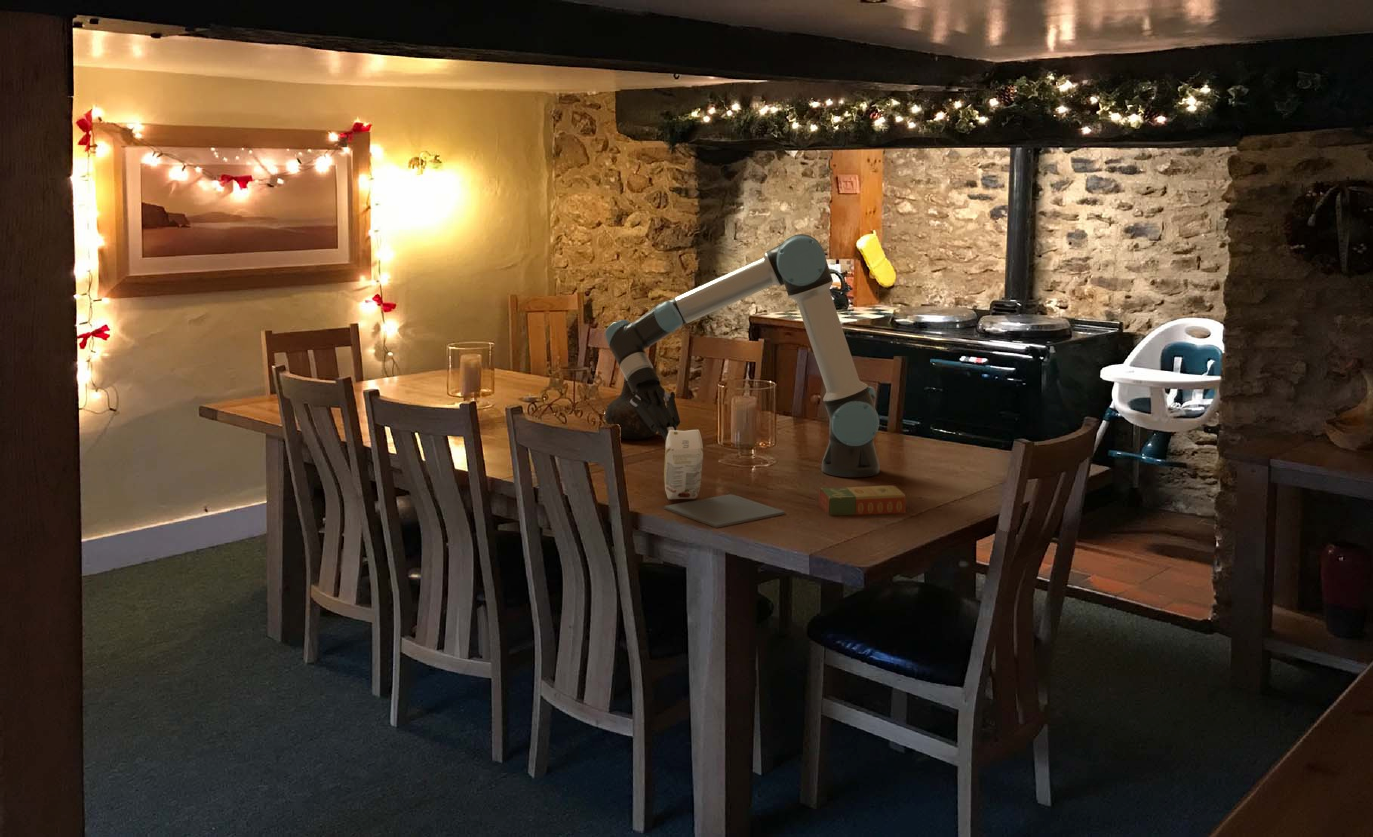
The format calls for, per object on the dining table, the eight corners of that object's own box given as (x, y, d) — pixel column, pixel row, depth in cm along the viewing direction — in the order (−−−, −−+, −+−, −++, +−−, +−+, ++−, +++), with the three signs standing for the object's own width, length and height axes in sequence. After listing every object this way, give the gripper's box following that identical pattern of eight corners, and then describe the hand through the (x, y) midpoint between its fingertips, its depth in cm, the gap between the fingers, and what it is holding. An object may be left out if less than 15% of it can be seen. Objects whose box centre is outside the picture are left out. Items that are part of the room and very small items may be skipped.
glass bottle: (650, 444, 351) (650, 349, 346) (595, 440, 357) (594, 346, 352) (673, 433, 367) (673, 342, 362) (619, 429, 373) (619, 339, 368)
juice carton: (700, 501, 288) (704, 452, 274) (664, 502, 288) (667, 453, 273) (697, 476, 293) (702, 426, 279) (662, 477, 293) (665, 427, 278)
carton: (905, 514, 277) (906, 494, 277) (828, 517, 275) (828, 496, 274) (893, 503, 287) (894, 483, 286) (818, 506, 284) (818, 486, 284)
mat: (664, 508, 280) (664, 506, 280) (731, 496, 292) (731, 493, 292) (716, 527, 264) (716, 525, 264) (785, 513, 276) (785, 511, 276)
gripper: (655, 381, 306) (694, 457, 296) (612, 386, 299) (650, 464, 289) (667, 363, 301) (707, 439, 291) (624, 367, 294) (663, 446, 284)
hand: (679, 451), depth 290 cm, fingers closed
